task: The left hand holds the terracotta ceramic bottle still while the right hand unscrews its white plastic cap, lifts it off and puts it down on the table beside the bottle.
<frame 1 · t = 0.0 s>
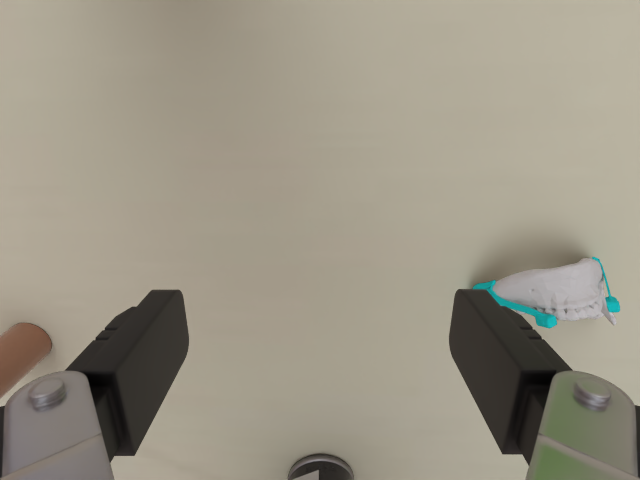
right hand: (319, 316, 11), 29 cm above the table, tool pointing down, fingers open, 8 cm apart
bottle: (30, 341, 46), on the table
anatomical model: (528, 284, 43), on the table
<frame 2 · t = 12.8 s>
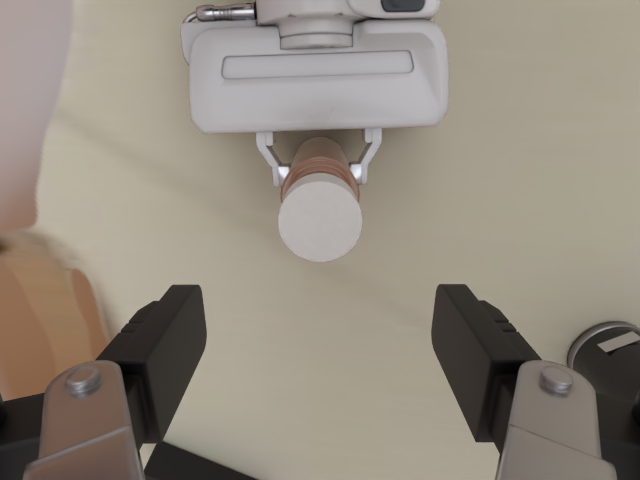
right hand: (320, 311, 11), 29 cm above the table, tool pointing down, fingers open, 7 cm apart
left hand: (320, 184, 33), fingers closed on bottle, 5 cm apart
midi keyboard: (215, 465, 54), on the table
cap: (320, 221, 20), point 20 cm above the table, screwed on, not yet turned
bottle: (320, 162, 39), on the table, touching left hand
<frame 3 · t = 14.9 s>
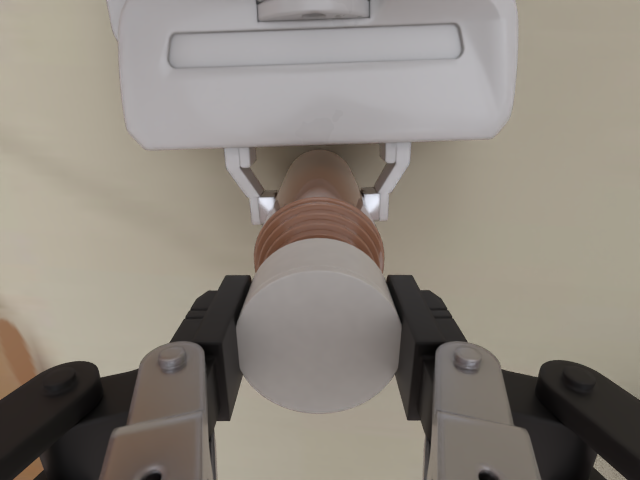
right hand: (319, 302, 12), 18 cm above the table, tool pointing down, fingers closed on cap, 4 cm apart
left hand: (320, 220, 23), fingers closed on bottle, 5 cm apart
cap: (318, 341, 10), point 20 cm above the table, screwed on, not yet turned, touching right hand
bottle: (319, 184, 29), on the table, touching left hand
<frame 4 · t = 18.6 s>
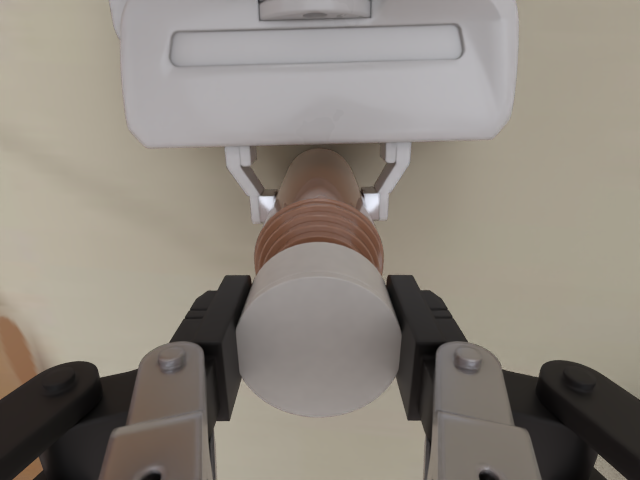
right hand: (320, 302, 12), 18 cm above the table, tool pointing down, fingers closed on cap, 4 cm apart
left hand: (320, 219, 23), fingers closed on bottle, 5 cm apart
cap: (318, 345, 10), point 20 cm above the table, turned 91° so far, risen 0.1 cm, still on its thread, touching right hand
bottle: (319, 182, 29), on the table, touching left hand
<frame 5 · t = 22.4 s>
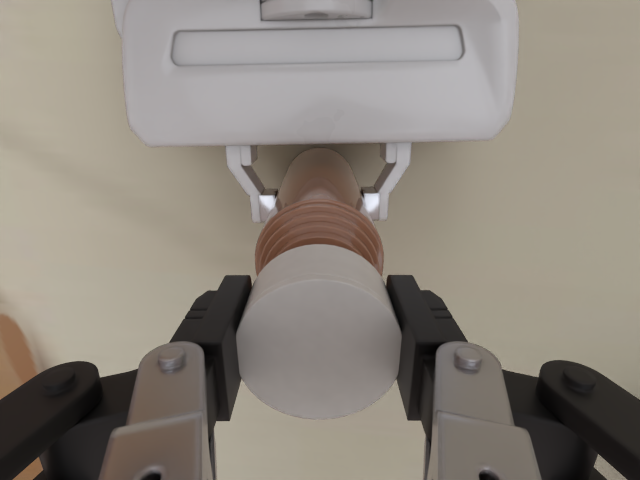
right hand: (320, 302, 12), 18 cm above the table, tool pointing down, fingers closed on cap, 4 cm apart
left hand: (320, 219, 23), fingers closed on bottle, 5 cm apart
cap: (319, 348, 10), point 20 cm above the table, turned 183° so far, risen 0.2 cm, still on its thread, touching right hand
bottle: (319, 182, 29), on the table, touching left hand
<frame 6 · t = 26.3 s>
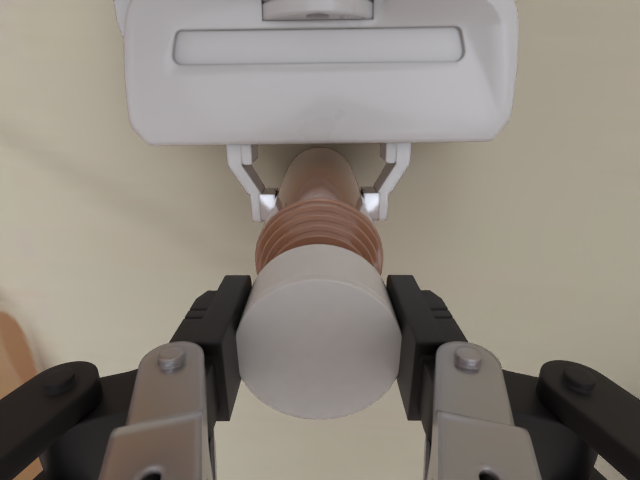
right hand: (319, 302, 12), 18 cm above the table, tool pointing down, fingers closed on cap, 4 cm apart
left hand: (320, 218, 23), fingers closed on bottle, 5 cm apart
cap: (318, 348, 10), point 20 cm above the table, turned 274° so far, risen 0.3 cm, still on its thread, touching right hand
bottle: (319, 181, 29), on the table, touching left hand
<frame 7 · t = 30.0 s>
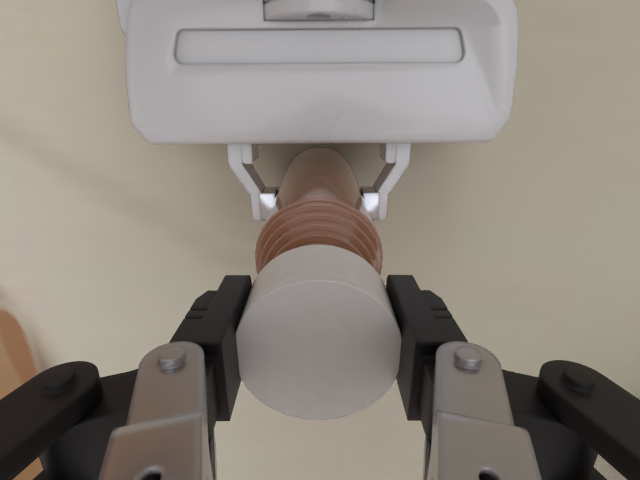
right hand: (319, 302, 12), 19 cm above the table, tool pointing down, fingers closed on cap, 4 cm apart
left hand: (320, 218, 23), fingers closed on bottle, 5 cm apart
cap: (318, 348, 10), point 21 cm above the table, turned 365° so far, risen 0.4 cm, still on its thread, touching right hand
bottle: (319, 181, 29), on the table, touching left hand
when the right hand's fingers open (2 cm above the table, at t = 40.1 s): cap drops 2 cm, point 2 cm above the table.
when the left hand's fingers open (7 cm above the table, at t = 41.3 s): bottle stays where it is, on the table.
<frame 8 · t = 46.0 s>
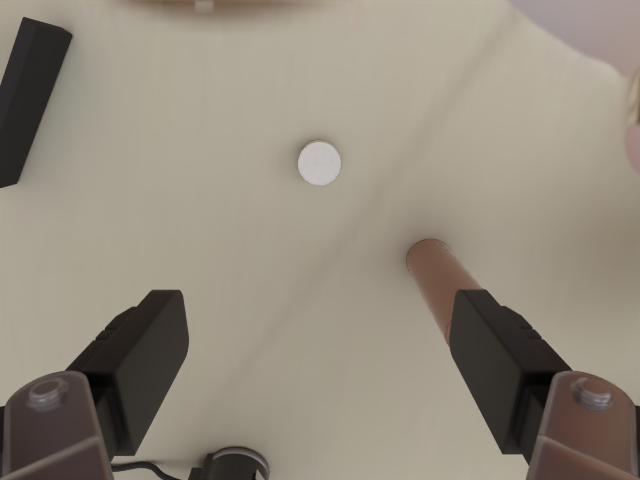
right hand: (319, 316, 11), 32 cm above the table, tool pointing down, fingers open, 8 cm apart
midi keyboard: (38, 110, 39), on the table
cap: (319, 163, 39), point 2 cm above the table, off its thread
bottle: (428, 259, 45), on the table
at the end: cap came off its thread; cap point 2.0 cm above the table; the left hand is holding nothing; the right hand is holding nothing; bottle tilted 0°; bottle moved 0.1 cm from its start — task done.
